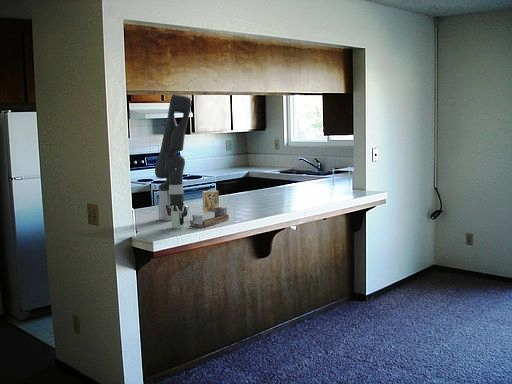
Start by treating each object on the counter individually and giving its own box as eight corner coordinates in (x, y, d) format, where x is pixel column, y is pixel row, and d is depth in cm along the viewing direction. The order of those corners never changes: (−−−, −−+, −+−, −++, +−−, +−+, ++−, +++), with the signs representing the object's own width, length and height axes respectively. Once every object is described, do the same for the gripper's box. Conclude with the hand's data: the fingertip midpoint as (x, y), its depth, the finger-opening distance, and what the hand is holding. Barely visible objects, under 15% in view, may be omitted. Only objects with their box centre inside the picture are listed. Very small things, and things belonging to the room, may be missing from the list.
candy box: (216, 215, 358) (215, 189, 356) (219, 216, 355) (218, 190, 353) (202, 217, 354) (201, 191, 352) (206, 218, 350) (205, 192, 348)
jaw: (192, 223, 327) (192, 214, 326) (205, 219, 337) (204, 211, 337) (202, 224, 324) (202, 215, 323) (214, 220, 334) (214, 212, 334)
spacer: (172, 227, 325) (171, 211, 324) (176, 226, 329) (176, 209, 328) (178, 228, 323) (178, 211, 322) (183, 226, 327) (183, 210, 325)
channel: (190, 226, 328) (189, 213, 327) (214, 218, 349) (213, 206, 348) (205, 227, 323) (204, 214, 322) (228, 219, 344) (228, 207, 343)
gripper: (161, 193, 323) (162, 224, 326) (183, 194, 316) (184, 226, 319) (169, 191, 330) (171, 221, 332) (191, 192, 323) (192, 223, 325)
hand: (177, 223), depth 326 cm, fingers closed on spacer, 4 cm apart
